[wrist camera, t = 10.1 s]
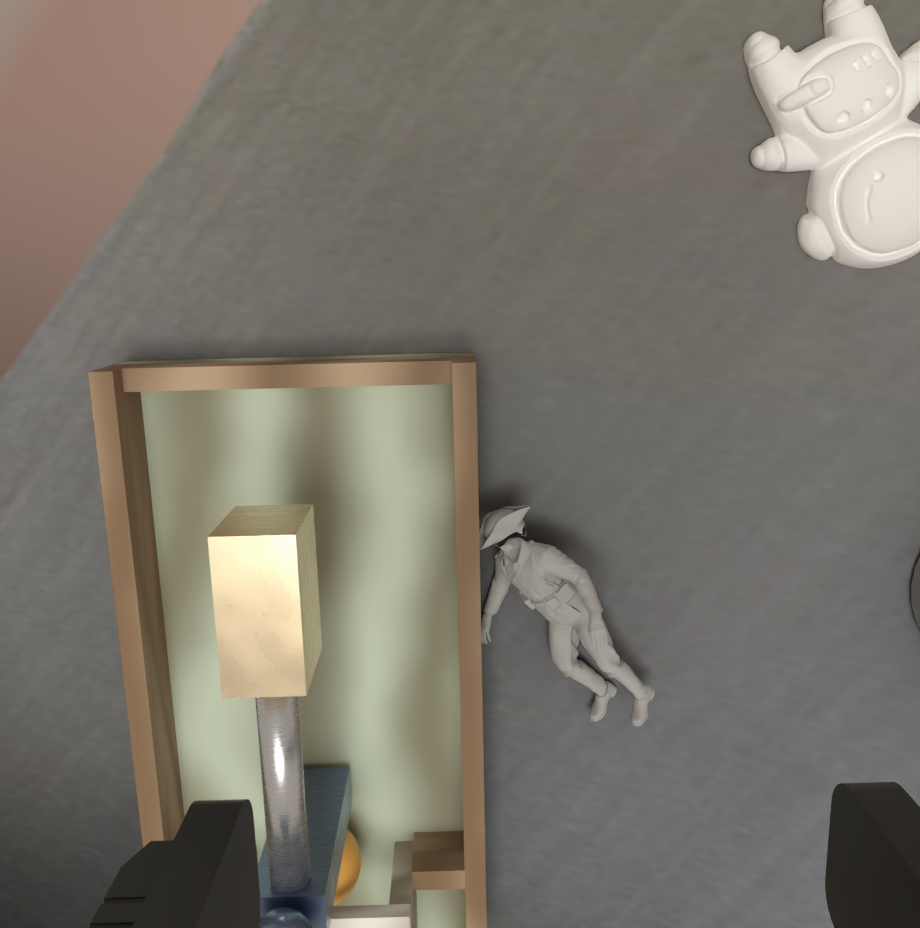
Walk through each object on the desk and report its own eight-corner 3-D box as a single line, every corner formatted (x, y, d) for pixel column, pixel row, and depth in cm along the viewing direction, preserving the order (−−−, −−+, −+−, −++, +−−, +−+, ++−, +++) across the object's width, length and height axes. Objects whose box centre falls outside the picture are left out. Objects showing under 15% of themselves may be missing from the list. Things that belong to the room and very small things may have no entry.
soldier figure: (546, 718, 46) (400, 586, 40) (577, 638, 48) (444, 504, 43) (674, 733, 40) (525, 583, 35) (702, 642, 43) (567, 488, 37)
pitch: (473, 352, 40) (478, 370, 33) (483, 910, 47) (490, 1025, 40) (127, 360, 40) (58, 380, 33) (186, 920, 47) (139, 1036, 40)
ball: (366, 884, 44) (364, 805, 44) (357, 925, 40) (355, 838, 40) (287, 886, 44) (285, 807, 44) (270, 928, 40) (268, 841, 40)
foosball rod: (333, 469, 40) (286, 550, 28) (352, 808, 43) (317, 1001, 32) (266, 470, 40) (193, 552, 28) (291, 810, 43) (235, 1004, 32)
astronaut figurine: (895, -40, 37) (933, -66, 34) (978, 223, 40) (1020, 220, 37) (705, 52, 38) (726, 35, 35) (798, 305, 41) (825, 308, 38)
